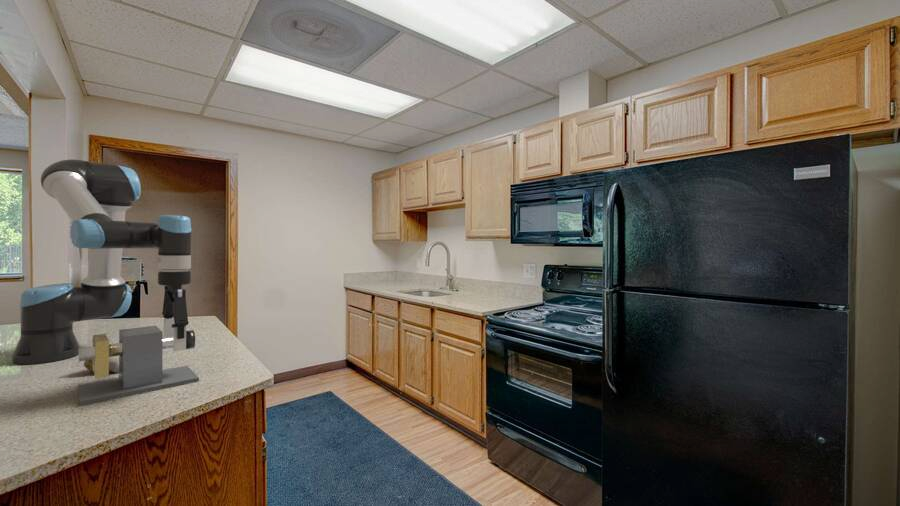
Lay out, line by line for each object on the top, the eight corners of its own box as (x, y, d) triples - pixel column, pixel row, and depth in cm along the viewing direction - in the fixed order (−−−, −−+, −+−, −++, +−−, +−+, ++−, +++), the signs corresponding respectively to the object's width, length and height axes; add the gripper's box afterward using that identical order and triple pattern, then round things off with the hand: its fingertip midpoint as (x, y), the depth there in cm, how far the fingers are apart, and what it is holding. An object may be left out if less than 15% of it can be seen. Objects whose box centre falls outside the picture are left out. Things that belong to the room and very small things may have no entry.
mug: (116, 377, 110) (94, 348, 108) (94, 388, 112) (72, 360, 110) (140, 363, 117) (120, 335, 115) (119, 373, 119) (99, 347, 118)
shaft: (78, 362, 97) (78, 342, 97) (190, 346, 114) (191, 328, 114) (79, 367, 93) (79, 346, 93) (195, 349, 110) (195, 331, 110)
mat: (77, 388, 100) (77, 384, 100) (187, 368, 117) (187, 365, 117) (80, 405, 90) (80, 401, 90) (198, 381, 108) (199, 377, 108)
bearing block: (119, 383, 105) (119, 329, 104) (155, 376, 110) (155, 325, 110) (123, 394, 98) (123, 336, 97) (162, 386, 103) (162, 332, 103)
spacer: (92, 369, 100) (92, 335, 100) (105, 367, 102) (105, 333, 102) (95, 378, 94) (95, 342, 94) (108, 376, 96) (108, 340, 96)
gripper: (150, 268, 114) (150, 338, 115) (167, 274, 97) (167, 357, 98) (180, 267, 120) (180, 334, 120) (201, 273, 102) (201, 352, 103)
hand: (174, 345), depth 109 cm, fingers open, 13 cm apart
